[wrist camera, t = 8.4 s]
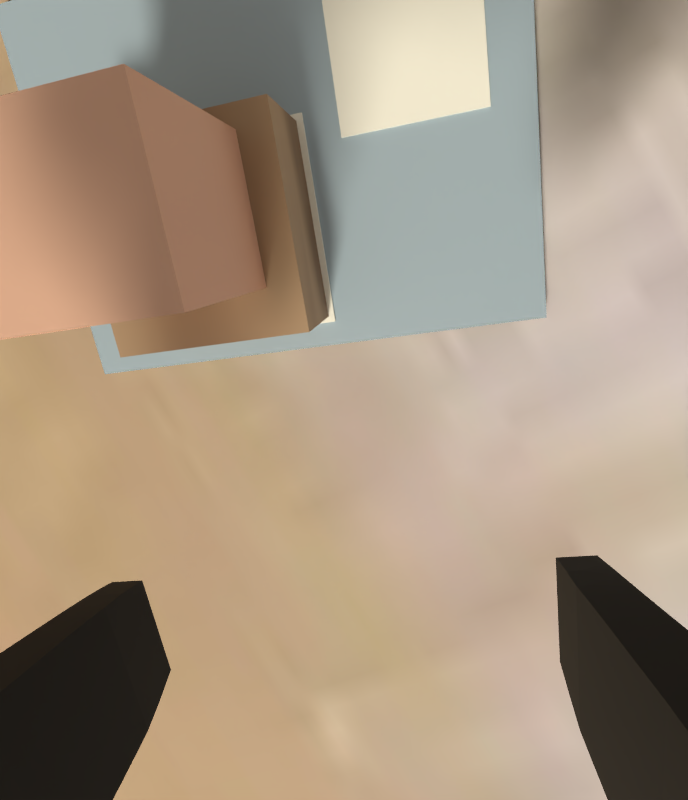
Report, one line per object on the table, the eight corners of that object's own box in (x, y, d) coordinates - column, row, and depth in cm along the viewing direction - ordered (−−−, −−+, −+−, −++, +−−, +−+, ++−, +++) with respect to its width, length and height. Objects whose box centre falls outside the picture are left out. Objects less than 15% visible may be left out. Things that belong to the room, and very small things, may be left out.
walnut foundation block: (296, 121, 15) (267, 94, 12) (328, 316, 17) (309, 332, 14) (121, 159, 16) (57, 142, 13) (168, 338, 18) (120, 357, 15)
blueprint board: (522, -141, 13) (528, -161, 12) (542, 314, 16) (547, 317, 16) (7, 14, 16) (-10, 4, 15) (114, 370, 19) (103, 375, 19)
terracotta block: (235, 129, 13) (123, 63, 8) (266, 287, 14) (185, 312, 9) (97, 159, 13) (-80, 115, 9) (137, 307, 14) (0, 340, 10)
